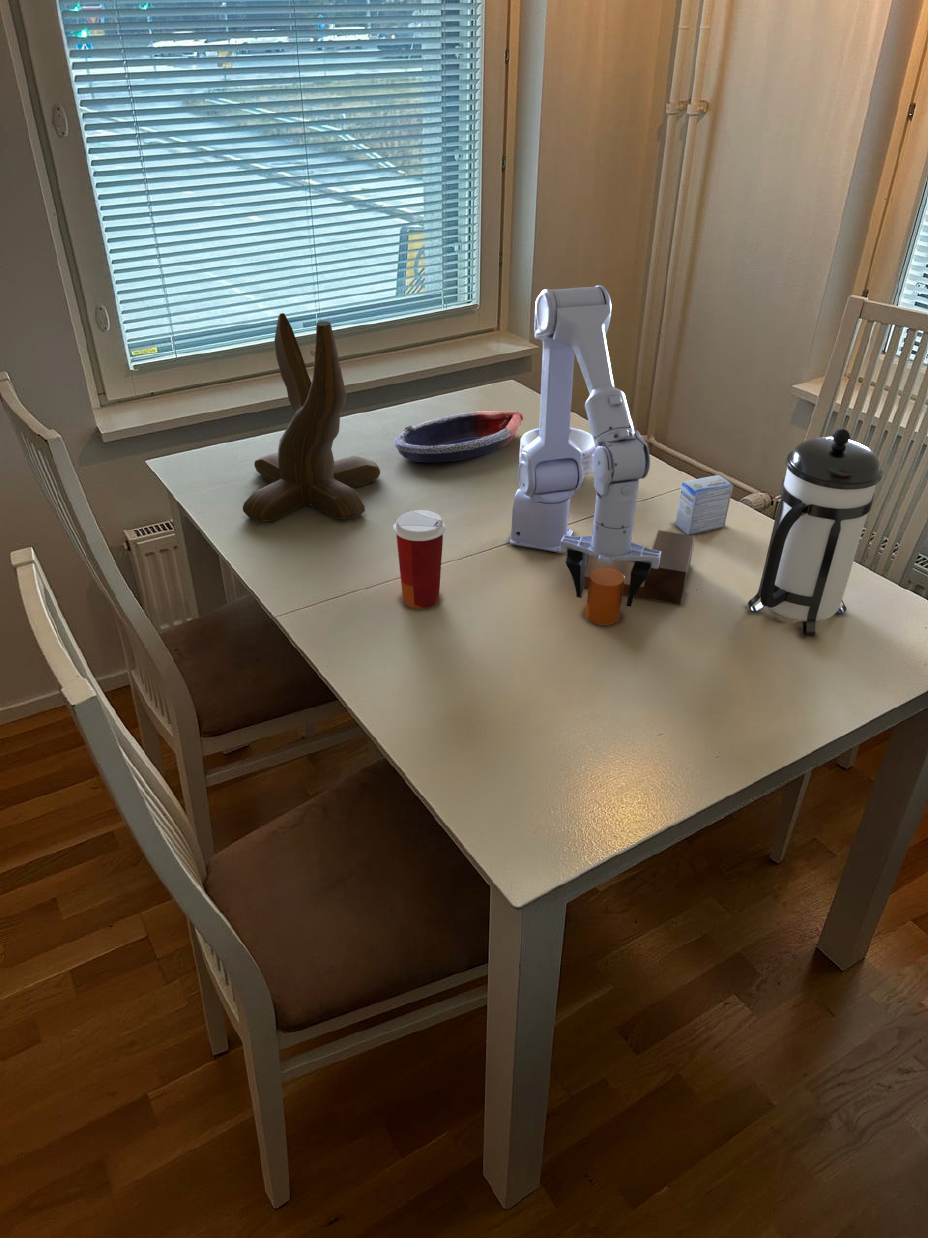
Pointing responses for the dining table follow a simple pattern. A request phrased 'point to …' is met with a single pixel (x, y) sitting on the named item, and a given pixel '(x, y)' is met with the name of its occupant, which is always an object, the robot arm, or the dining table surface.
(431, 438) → the dish
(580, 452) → the robot arm
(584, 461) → the paper bowls
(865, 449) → the coffee press
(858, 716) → the dining table surface
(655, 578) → the shelf riser
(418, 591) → the paper cup
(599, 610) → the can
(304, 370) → the wooden stand
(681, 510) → the medicine box
